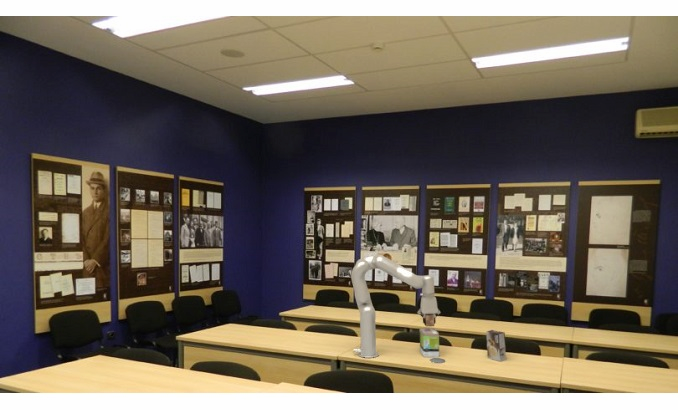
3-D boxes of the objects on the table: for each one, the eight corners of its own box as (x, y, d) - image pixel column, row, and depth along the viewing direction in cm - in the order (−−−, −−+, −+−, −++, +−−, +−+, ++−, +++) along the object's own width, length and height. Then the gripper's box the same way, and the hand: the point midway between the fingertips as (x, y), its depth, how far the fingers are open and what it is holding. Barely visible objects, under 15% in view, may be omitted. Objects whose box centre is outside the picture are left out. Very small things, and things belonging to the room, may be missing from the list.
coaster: (431, 363, 256) (431, 362, 256) (428, 358, 265) (428, 358, 265) (447, 363, 257) (447, 362, 257) (443, 358, 266) (443, 357, 266)
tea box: (440, 357, 268) (439, 332, 269) (423, 357, 268) (422, 333, 269) (435, 350, 283) (434, 327, 284) (419, 350, 283) (418, 327, 284)
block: (426, 326, 274) (426, 315, 275) (424, 324, 279) (424, 313, 280) (434, 326, 274) (433, 315, 275) (432, 324, 279) (432, 313, 280)
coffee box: (506, 359, 261) (505, 332, 262) (500, 361, 257) (499, 334, 258) (493, 356, 268) (492, 329, 269) (486, 358, 264) (485, 331, 265)
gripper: (416, 296, 274) (417, 325, 273) (443, 295, 274) (444, 325, 273) (413, 294, 281) (414, 323, 280) (440, 293, 282) (441, 322, 281)
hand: (429, 323), depth 277 cm, fingers closed on block, 5 cm apart
